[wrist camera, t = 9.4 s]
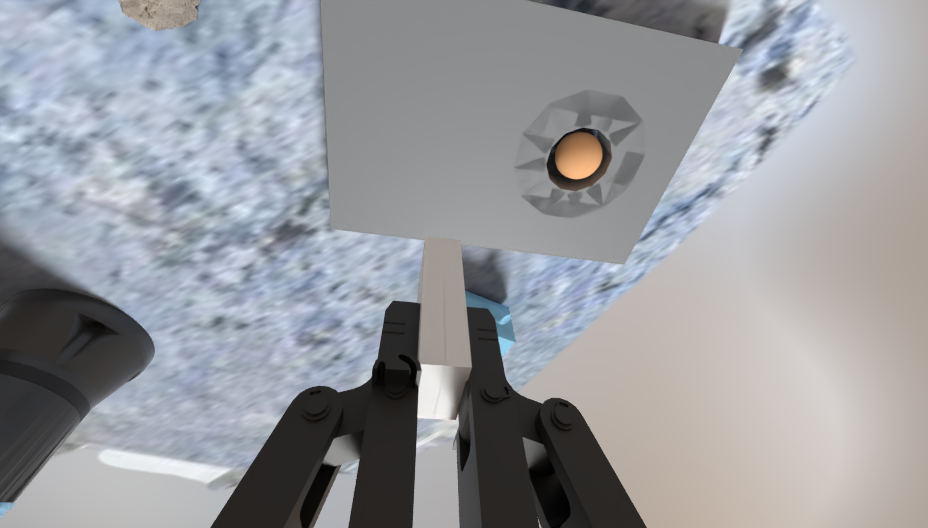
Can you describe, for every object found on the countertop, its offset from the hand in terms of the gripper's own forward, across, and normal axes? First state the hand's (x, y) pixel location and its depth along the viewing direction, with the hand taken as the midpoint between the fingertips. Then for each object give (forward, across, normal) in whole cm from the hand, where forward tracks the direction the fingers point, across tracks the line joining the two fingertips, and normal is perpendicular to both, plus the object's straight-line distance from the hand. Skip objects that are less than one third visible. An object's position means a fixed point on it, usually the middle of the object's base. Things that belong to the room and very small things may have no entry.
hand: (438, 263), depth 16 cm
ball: (+18, +12, 0) cm, 22 cm away
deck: (+20, +6, 0) cm, 21 cm away
